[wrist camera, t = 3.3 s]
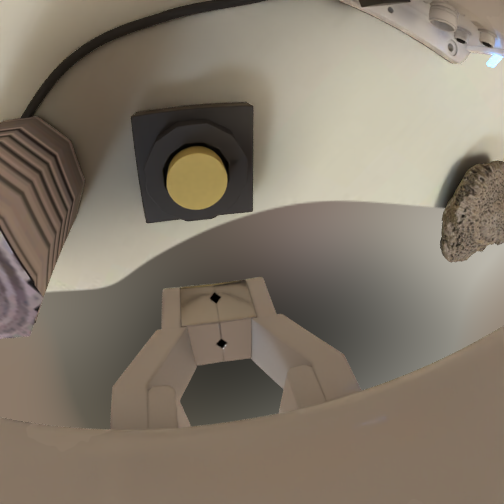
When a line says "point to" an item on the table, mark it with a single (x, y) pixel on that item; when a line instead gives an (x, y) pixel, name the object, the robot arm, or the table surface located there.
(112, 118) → the table surface
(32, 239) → the can
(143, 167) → the button box
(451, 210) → the rock
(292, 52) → the table surface
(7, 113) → the table surface
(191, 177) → the button
